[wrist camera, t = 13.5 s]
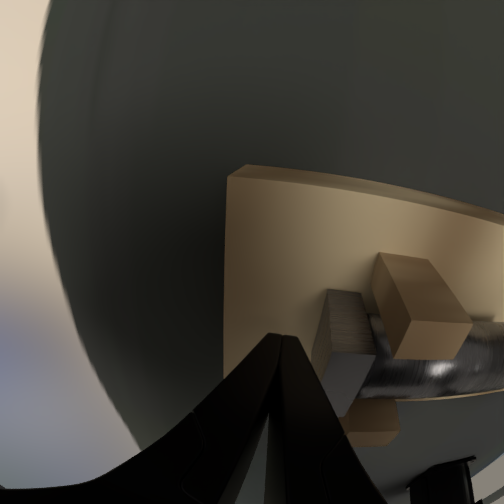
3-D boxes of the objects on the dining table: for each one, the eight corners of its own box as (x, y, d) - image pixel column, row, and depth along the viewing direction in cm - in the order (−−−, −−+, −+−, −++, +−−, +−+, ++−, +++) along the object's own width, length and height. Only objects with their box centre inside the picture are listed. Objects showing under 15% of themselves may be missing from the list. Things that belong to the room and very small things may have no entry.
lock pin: (504, 306, 7) (536, 350, 4) (475, 358, 8) (496, 404, 6) (327, 288, 8) (332, 351, 5) (311, 352, 9) (308, 414, 6)
